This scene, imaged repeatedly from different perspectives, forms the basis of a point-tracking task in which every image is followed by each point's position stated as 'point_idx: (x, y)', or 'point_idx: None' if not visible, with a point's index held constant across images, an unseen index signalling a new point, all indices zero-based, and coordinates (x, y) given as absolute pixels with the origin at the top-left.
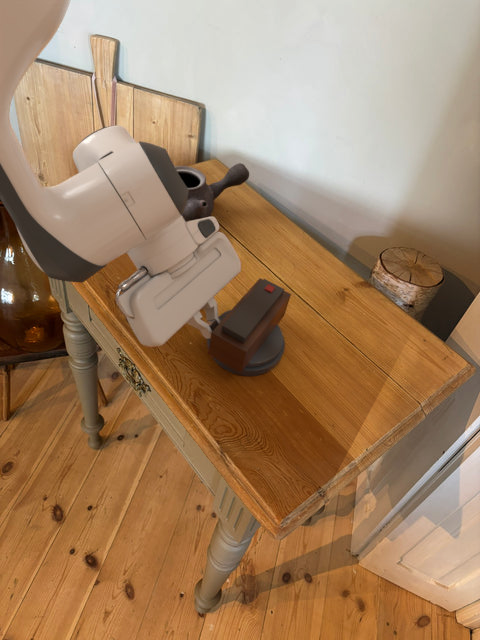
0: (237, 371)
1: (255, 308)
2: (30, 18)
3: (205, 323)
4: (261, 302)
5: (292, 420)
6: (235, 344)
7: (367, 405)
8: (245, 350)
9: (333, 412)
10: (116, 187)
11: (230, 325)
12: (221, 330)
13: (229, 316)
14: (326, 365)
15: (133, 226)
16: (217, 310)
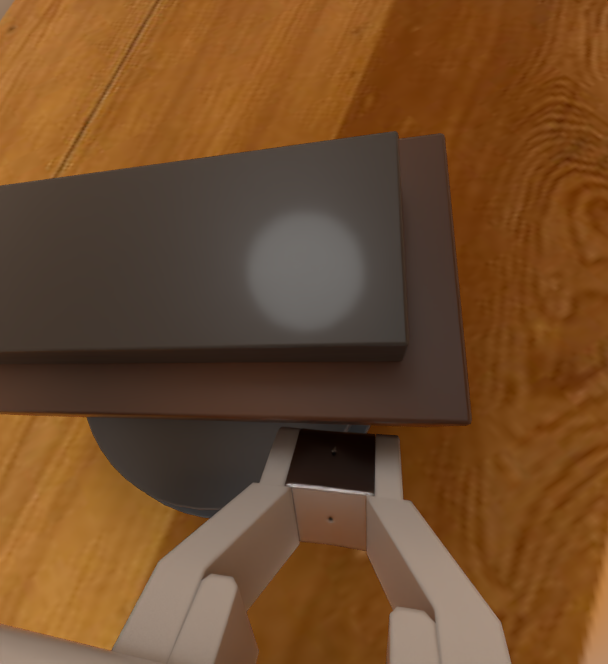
0: None
1: (82, 242)
2: None
3: (396, 531)
4: (13, 243)
5: (414, 99)
6: (441, 212)
7: (249, 14)
8: (440, 137)
9: (318, 49)
10: None
11: (357, 286)
12: (394, 365)
13: (230, 391)
14: (185, 132)
15: None
16: (217, 514)
